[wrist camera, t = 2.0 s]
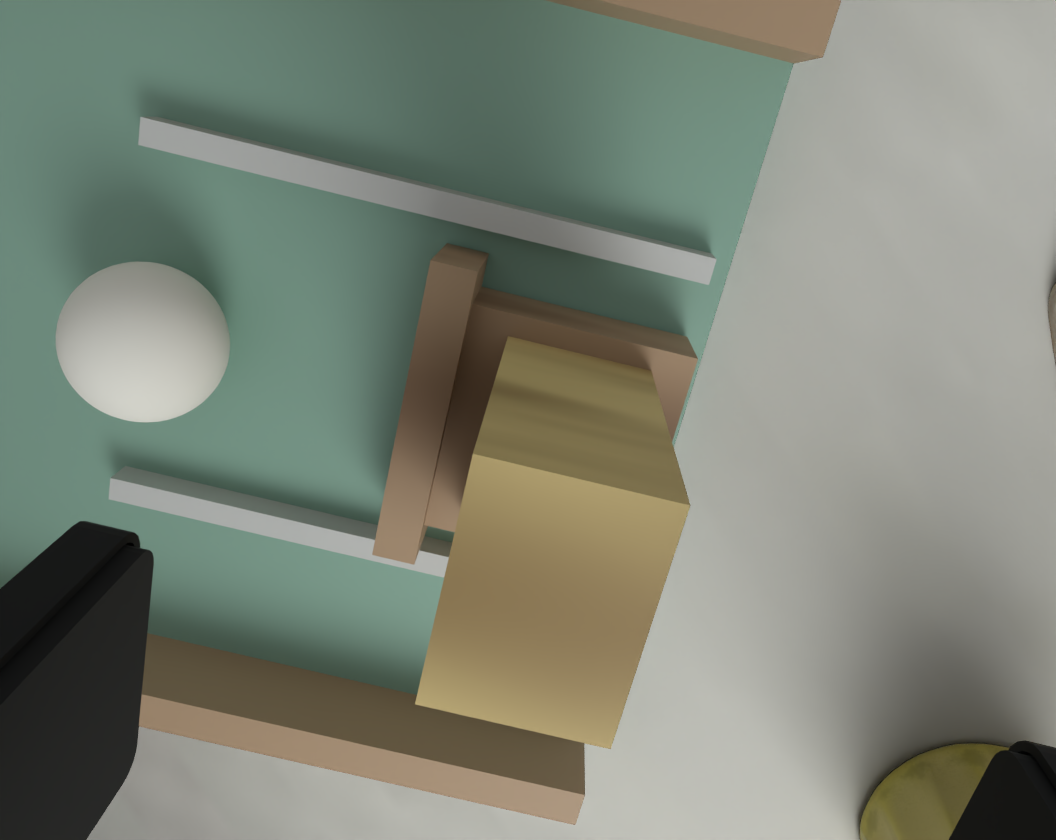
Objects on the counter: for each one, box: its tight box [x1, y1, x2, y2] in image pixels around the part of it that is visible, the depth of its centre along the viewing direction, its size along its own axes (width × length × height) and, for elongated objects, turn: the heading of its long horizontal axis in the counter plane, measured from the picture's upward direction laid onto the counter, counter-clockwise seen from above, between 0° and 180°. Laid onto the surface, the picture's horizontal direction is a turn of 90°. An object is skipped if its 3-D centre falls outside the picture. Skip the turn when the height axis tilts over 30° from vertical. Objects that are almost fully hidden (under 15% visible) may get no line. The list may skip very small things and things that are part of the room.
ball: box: [56, 261, 230, 422], centre depth 20 cm, size 4×4×4 cm
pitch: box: [0, 0, 841, 825], centre depth 21 cm, size 20×28×4 cm
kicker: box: [372, 243, 698, 749], centre depth 18 cm, size 7×6×9 cm
